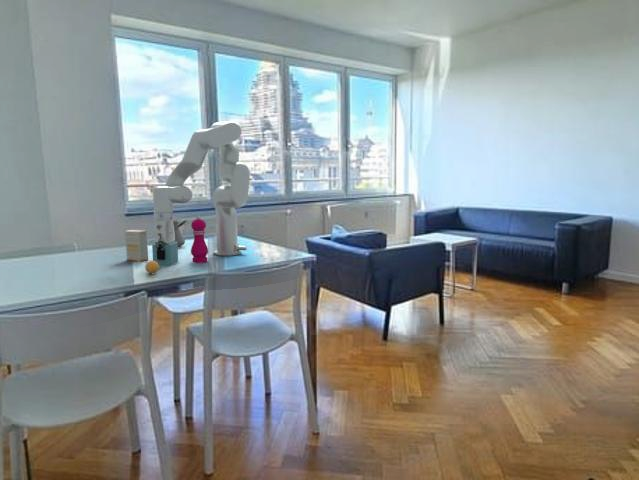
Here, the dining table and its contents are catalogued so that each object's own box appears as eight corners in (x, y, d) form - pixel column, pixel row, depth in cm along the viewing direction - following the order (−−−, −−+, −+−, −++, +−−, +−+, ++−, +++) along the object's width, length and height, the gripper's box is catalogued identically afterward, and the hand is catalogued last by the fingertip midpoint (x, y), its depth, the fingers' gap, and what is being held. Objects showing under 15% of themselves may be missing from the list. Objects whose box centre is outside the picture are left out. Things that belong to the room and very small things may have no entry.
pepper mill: (211, 260, 201) (210, 214, 198) (202, 264, 195) (200, 216, 191) (197, 259, 204) (195, 214, 200) (187, 262, 197) (185, 215, 194)
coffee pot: (157, 246, 234) (156, 217, 232) (179, 244, 242) (178, 215, 239) (176, 253, 218) (174, 221, 216) (198, 250, 226) (197, 219, 223)
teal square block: (178, 261, 199) (177, 241, 197) (171, 265, 191) (170, 244, 190) (160, 261, 199) (159, 241, 198) (153, 265, 191) (152, 244, 190)
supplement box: (149, 259, 202) (147, 230, 200) (140, 262, 198) (138, 231, 196) (135, 258, 206) (133, 229, 204) (126, 260, 201) (124, 230, 199)
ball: (161, 272, 179) (161, 259, 179) (156, 275, 174) (155, 262, 174) (149, 271, 180) (148, 259, 179) (143, 274, 175) (142, 261, 174)
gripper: (164, 218, 183) (166, 261, 186) (180, 214, 200) (181, 253, 203) (145, 218, 183) (147, 261, 186) (163, 214, 201) (164, 253, 203)
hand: (165, 257), depth 194 cm, fingers open, 8 cm apart
